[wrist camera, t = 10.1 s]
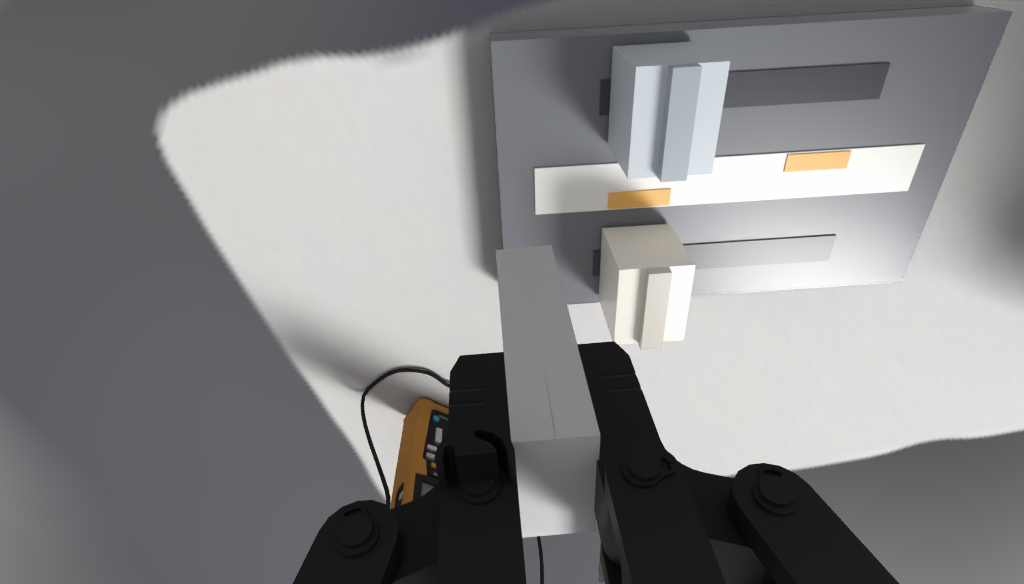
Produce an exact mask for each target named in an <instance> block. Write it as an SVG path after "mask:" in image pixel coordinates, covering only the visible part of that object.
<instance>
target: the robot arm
mask: <svg viewBox="0 0 1024 584" xmlns="http://www.w3.org/2000/svg"><path fill="white" fill-rule="evenodd" d="M496 263H497V275H498V288H499V300H500V313H501V325H502V337H503V350H504V352H499V353H487V354H475V355H463V356H460V357H459V358H458V360H457V362H456V363H455V365H454V367H453V368H452V370H451V372H450V393H449V416H448V435H447V436H446V437H445V438H444V439H443V440H442V442H441V443H440V444H439V445H438V447H437V451H436V454H435V457H434V459H435V464H436V469H437V474H438V479H439V481H438V483H437V484H436V485H435V486H434V487H433V488H432V489H431V490H430V491H428V492H427V493H426V494H425V495H423V496H421V497H419V498H417V499H415V500H413V501H411V502H408V503H405V504H403V505H400V506H398V507H395V508H393V509H390V508H389V507H388V506H387V505H386V504H383V503H380V502H376V501H374V500H366V501H356V502H354V503H351V504H349V505H346V506H343V507H342V508H340V509H339V510H338V511H337V512H335V513H334V514H332V515H331V516H330V517H329V518H328V519H327V521H326V522H325V523H324V525H323V526H322V528H321V529H320V530H319V532H318V534H317V536H316V538H315V540H314V542H313V544H312V546H311V548H310V550H309V552H308V554H307V556H306V558H305V560H304V562H303V564H302V566H301V568H300V570H299V572H298V574H297V576H296V578H295V580H294V582H293V584H526V574H525V563H524V553H523V541H522V538H523V537H535V536H545V535H556V534H567V533H578V532H589V531H595V530H596V520H597V525H598V529H599V535H600V539H601V548H600V563H599V582H605V584H899V583H898V582H897V581H896V580H895V578H894V577H893V576H892V575H891V574H890V573H889V572H888V571H887V570H886V569H885V567H883V565H882V564H881V563H880V562H879V561H878V560H877V559H876V558H875V557H874V555H873V554H872V553H871V552H870V551H869V550H868V549H867V548H866V547H865V546H864V544H862V542H861V541H860V540H859V539H858V538H857V537H856V536H855V535H854V533H853V532H852V531H851V530H850V529H849V528H848V527H847V526H846V525H845V524H844V522H843V521H842V520H841V519H840V518H839V517H838V516H837V515H836V514H835V513H834V511H833V510H832V509H831V508H830V507H829V506H828V505H827V504H826V503H825V502H824V501H823V500H822V498H821V497H820V496H819V495H818V494H817V493H816V492H815V491H814V490H813V488H812V487H811V486H810V485H809V484H808V483H806V482H805V481H804V480H803V479H802V478H800V477H799V476H798V475H797V474H795V473H794V472H791V471H789V470H787V469H785V468H783V467H781V466H777V465H771V464H766V463H760V464H752V465H748V466H746V467H745V468H743V469H741V470H739V471H738V473H737V474H736V476H735V478H730V477H724V476H719V475H714V474H709V473H704V472H700V471H697V470H693V469H691V468H689V467H687V466H685V465H683V464H681V463H680V462H678V461H677V460H676V459H675V457H674V456H673V455H672V454H670V453H669V452H668V451H667V450H666V449H665V448H664V446H663V444H662V442H661V440H660V438H659V435H658V432H657V429H656V427H655V424H654V421H653V419H652V416H651V413H650V411H649V408H648V405H647V402H646V400H645V397H644V394H643V392H642V390H641V388H640V384H639V381H638V378H637V376H636V375H635V370H634V367H633V365H632V362H631V359H630V357H629V355H628V354H627V353H626V352H625V351H624V350H623V349H622V348H621V347H620V346H619V345H618V344H617V343H616V342H615V341H614V342H602V343H590V344H578V345H577V342H576V338H575V334H574V330H573V326H572V323H571V319H570V315H569V311H568V307H567V303H566V299H565V295H564V291H563V288H562V284H561V280H560V276H559V272H558V268H557V264H556V260H555V256H554V253H553V249H552V245H549V246H536V247H524V248H511V249H498V250H496Z"/></svg>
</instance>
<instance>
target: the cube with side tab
mask: <svg viewBox="0 0 1024 584" xmlns="http://www.w3.org/2000/svg"><path fill="white" fill-rule="evenodd" d="M729 66H730V61H729V60H727V59H725V58H723V57H722V56H720V55H718V54H716V53H714V52H712V51H710V50H708V49H706V48H705V47H703V46H701V45H699V44H697V43H695V42H676V43H659V44H642V45H625V46H613V53H612V73H611V92H610V111H609V131H608V147H609V148H610V150H611V152H612V153H613V155H614V157H615V159H616V160H617V162H618V164H619V165H620V167H621V169H622V170H623V172H624V174H625V175H626V177H627V179H637V178H653V177H657V178H658V179H659V180H660V182H671V181H687V175H701V174H712V171H713V165H714V158H715V152H716V146H717V140H718V134H719V128H720V122H721V115H722V109H723V103H724V97H725V91H726V85H727V79H728V72H729Z"/></svg>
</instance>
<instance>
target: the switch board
mask: <svg viewBox="0 0 1024 584" xmlns="http://www.w3.org/2000/svg"><path fill="white" fill-rule="evenodd" d="M1011 13H1012V11H1007V10H1001V9H995V8H988V7H982V6H976V5H972V6H954V7H937V8H920V9H902V10H885V11H868V12H850V13H833V14H816V15H798V16H781V17H764V18H746V19H729V20H712V21H694V22H677V23H660V24H642V25H625V26H608V27H590V28H573V29H556V30H538V31H521V32H504V33H490V47H491V64H492V80H493V96H494V112H495V128H496V145H497V161H498V177H499V193H500V209H501V226H502V242H503V249H511V248H524V247H536V246H549V245H552V249H553V253H554V256H555V260H556V264H557V268H558V272H559V276H560V280H561V284H562V288H563V291H564V295H565V299H566V303H567V304H582V303H597V302H600V301H599V280H600V260H601V240H602V228H611V227H627V226H642V225H658V224H670V226H671V228H672V229H673V231H674V232H675V234H676V235H677V237H678V238H679V240H680V242H681V243H682V245H683V246H684V248H685V249H686V251H687V252H688V254H689V255H690V257H691V259H692V260H693V262H694V263H695V265H696V266H695V272H694V278H693V284H692V291H691V296H702V295H716V294H731V293H746V292H761V291H776V290H791V289H806V288H821V287H836V286H851V285H866V284H881V283H896V282H902V280H903V278H904V275H905V273H906V270H907V268H908V265H909V263H910V260H911V258H912V255H913V253H914V251H915V248H916V246H917V243H918V241H919V238H920V236H921V233H922V231H923V229H924V226H925V224H926V221H927V219H928V216H929V214H930V211H931V209H932V207H933V204H934V202H935V199H936V197H937V194H938V192H939V189H940V187H941V184H942V182H943V180H944V177H945V175H946V172H947V170H948V167H949V165H950V162H951V160H952V158H953V155H954V153H955V150H956V148H957V145H958V143H959V140H960V138H961V136H962V133H963V131H964V128H965V126H966V123H967V121H968V118H969V116H970V113H971V111H972V109H973V106H974V104H975V101H976V99H977V96H978V94H979V91H980V89H981V87H982V84H983V82H984V79H985V77H986V74H987V72H988V69H989V67H990V65H991V62H992V60H993V57H994V55H995V52H996V50H997V47H998V45H999V43H1000V40H1001V38H1002V35H1003V33H1004V30H1005V28H1006V25H1007V23H1008V20H1009V18H1010V16H1011ZM676 42H695V43H697V44H699V45H701V46H703V47H705V48H706V49H708V50H710V51H712V52H714V53H716V54H718V55H720V56H722V57H723V58H725V59H727V60H729V61H730V66H729V72H728V79H727V85H726V91H725V97H724V103H723V109H722V115H721V122H720V128H719V134H718V140H717V146H716V152H715V158H714V165H713V171H712V174H701V175H687V181H671V182H660V180H659V179H658V178H657V177H653V178H637V179H627V177H626V175H625V174H624V172H623V170H622V169H621V167H620V165H619V164H618V162H617V160H616V159H615V157H614V155H613V153H612V152H611V150H610V148H609V147H608V131H609V111H610V92H611V73H612V53H613V46H625V45H642V44H659V43H676Z"/></svg>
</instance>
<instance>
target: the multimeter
mask: <svg viewBox="0 0 1024 584" xmlns="http://www.w3.org/2000/svg"><path fill="white" fill-rule="evenodd" d="M399 372H417V373H423V374H427V375H430V376H432V377H434V378H435V379H437V380H438V381H439V382H441V383H442V384H444V385H445V386H447V387H449V388H450V384H448V383H447V382H445V381H444V380H442V379H441V378H440V377H438V376H437V375H435V374H433V373H431V372H428V371H425V370H420V369H411V368H404V369H397V370H393V371H390V372H388V373H386V374H384V375H383V376H381V377H380V378H378V379H377V380H376V381H374V382H373V383H372V384H371V385H370V386H369V387H368V388H367V389H366V390H365V392H364V393H363V395H362V399H361V416H362V421H363V426H364V429H365V433H366V436H367V440H368V443H369V446H370V449H371V452H372V454H373V457H374V460H375V463H376V466H377V469H378V472H379V475H380V477H381V481H382V484H383V487H384V490H385V495H386V505H387V506H388V507H389V508H390V509H393V508H395V507H398V506H400V505H403V504H405V503H408V502H411V501H413V500H415V499H417V498H419V497H421V496H423V495H425V494H426V493H427V492H428V491H430V490H431V489H432V488H433V487H434V486H435V485H436V484H437V483H438V481H439V479H438V474H437V469H436V464H435V459H434V457H435V454H436V451H437V447H438V445H439V444H440V443H441V442H442V440H443V439H444V438H445V437H446V436H447V435H448V416H449V409H448V408H446V407H443V406H441V405H438V404H436V403H433V401H432V400H428V399H425V398H421V399H419V400H418V401H417V402H416V403H415V405H414V406H413V408H412V409H411V410H410V412H409V413H408V415H407V416H406V417H405V419H404V425H403V431H402V437H401V444H400V450H399V456H398V462H397V468H396V474H395V480H394V487H393V493H392V500H391V507H390V494H389V489H388V486H387V483H386V480H385V477H384V474H383V471H382V468H381V466H380V463H379V460H378V457H377V454H376V452H375V449H374V446H373V443H372V440H371V437H370V433H369V430H368V426H367V422H366V418H365V411H364V401H365V396H366V394H367V393H368V391H369V390H370V389H371V388H373V387H374V386H375V385H376V384H377V383H379V382H380V381H381V380H383V379H384V378H386V377H388V376H390V375H392V374H395V373H399ZM537 540H538V547H539V556H540V584H544V564H543V553H542V546H541V539H540V536H537Z"/></svg>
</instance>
